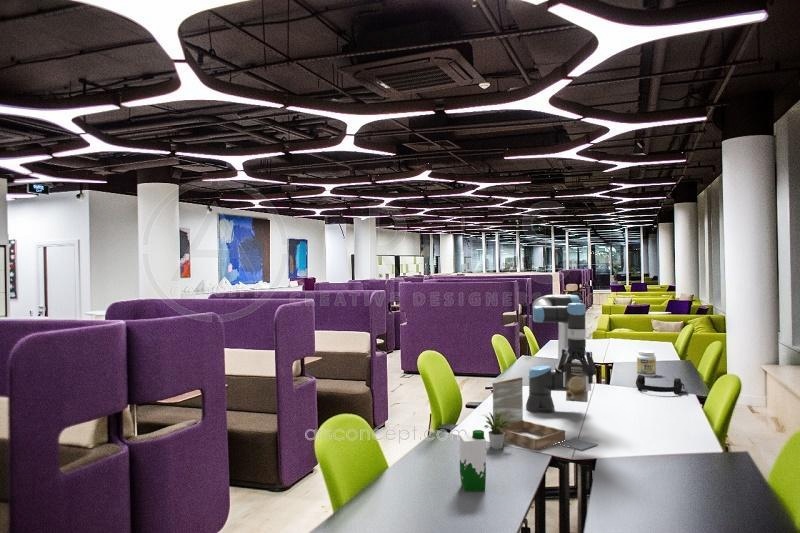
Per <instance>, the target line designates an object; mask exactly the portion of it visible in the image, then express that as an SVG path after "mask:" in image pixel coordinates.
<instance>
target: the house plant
mask: <svg viewBox="0 0 800 533" xmlns="http://www.w3.org/2000/svg"><path fill="white" fill-rule="evenodd" d="M500 412H501V410H500V411H499V412H498V414H497V413H496V411H495V421H494V417H493V413H491V412H490V411H489V412H488V414H489V415H490V416H488V414H486V413H485V414H482V416H484V417H485V418H486V419H487V420H486V421H485V423H487V424H488V425H487V424H485V425H484V428H485V429H491V430H489V431H488V437H489V438H488V439H489V443H490V444H489V445H490V447H492V449H495V448H496V449H495V450H497V449H498V450H499V448H500V449H502V448H503V446H504V441H505V440H504V436H505V432H503V431H502V430H503V429H502V426H503V425H504V424H505V423H508V422H515V421H504V422H503V420H505V418H506V417H507V416H508V415H509V414H508V415H506V416H505V417H504V418H503V419H502V420H501V421H500V422H499V419H500V417H501V415H502V414H503V413H504V412H502V413H501V414H500ZM507 418H509V417H507ZM504 426H505V427H504ZM504 426H503V428H510V427H508V426H510V425H507V426H506V425H504ZM501 429H502V430H501Z"/></svg>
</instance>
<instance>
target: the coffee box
mask: <svg viewBox="0 0 800 533" xmlns="http://www.w3.org/2000/svg"><path fill="white" fill-rule="evenodd" d="M588 365H589V364H588ZM588 365H586V366H587V367H588ZM586 376H587V373H586V371H585V369H584V366H583V365H582V363H581V362H576V361H575V362H571V363H567V367H566V391H565V395H566V396H565V401H566V402H578V403H579V402H581V403H588V399H589V397H588V396H589V391H586Z"/></svg>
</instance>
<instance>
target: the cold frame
mask: <svg viewBox="0 0 800 533" xmlns="http://www.w3.org/2000/svg"><path fill="white" fill-rule="evenodd" d="M523 378H524V377H522V376H520V377H514V378H509V379H508V378H507V379H505V380H504V379H503V380H500V381H495V382H494V381H493V382H492V416H493V417H494V421H495V411H496V413H497V414H498V412H499V411H500V410H501V412H500V414H501V413H502V412H504V413H503V414H502V415H501V417H500V419H499V422H500V421H501V420H502V419H503V418H504V417H505V416H506V415H508V414H509V415H508V416H507V417H509V418H507V417H506V418H505V420H503V422H504V421H515V422H508V423H505V424H504V425H506V426H507V425H510V426H508V427H510V428H503V426H504V425H503V426H502V429H503V430H502V429H501V430H502V431H503V432H505V436H504V441H506V442H509V443H512V444H516V445H519V446H522V447H525V448H529V449H532V450H535V449H536V451H539V450H542V449H545V448H548V447H550V445H551V446H554V445H556V444H555V443H557V444H558V442H562V441H564V440H565V441H566V430H564V429H560V428H555V427H552V426H549V425H543V424H540V423H536V422H532V421H528V420H524V419H523V418H524V415H523V414H524V413H523V412H524V411H523V403H524V402H523V400H524V399H523V396H524V395H523V380H524V379H523ZM504 427H505V426H504ZM522 431H525V432H528V433H532V434H535V435H539V436H540V437H537V438H536V437H533V436H529V435H526V434H522V433H520V432H522ZM553 444H554V445H553ZM547 446H548V447H547ZM544 447H545V448H544ZM541 448H542V449H541ZM538 449H539V450H538Z"/></svg>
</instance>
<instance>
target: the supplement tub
mask: <svg viewBox="0 0 800 533" xmlns="http://www.w3.org/2000/svg"><path fill="white" fill-rule="evenodd" d="M637 352H638V355H637V356H636V374H637V376H638V375H644V377H645V378H647V377H648V378H649V377H650V378H653V377H655V376H656V375H657V370H656V369H657V368H656V365H657V362H656V361H657V359H656V358H657V357H656V356H655V351H653V350H638V351H637Z"/></svg>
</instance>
